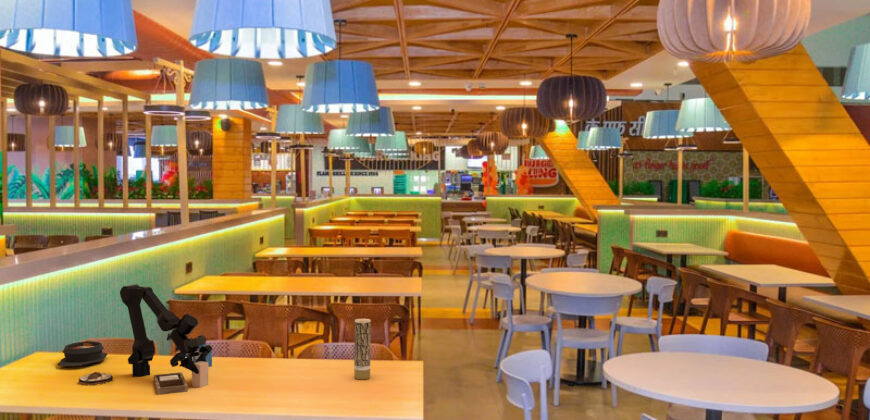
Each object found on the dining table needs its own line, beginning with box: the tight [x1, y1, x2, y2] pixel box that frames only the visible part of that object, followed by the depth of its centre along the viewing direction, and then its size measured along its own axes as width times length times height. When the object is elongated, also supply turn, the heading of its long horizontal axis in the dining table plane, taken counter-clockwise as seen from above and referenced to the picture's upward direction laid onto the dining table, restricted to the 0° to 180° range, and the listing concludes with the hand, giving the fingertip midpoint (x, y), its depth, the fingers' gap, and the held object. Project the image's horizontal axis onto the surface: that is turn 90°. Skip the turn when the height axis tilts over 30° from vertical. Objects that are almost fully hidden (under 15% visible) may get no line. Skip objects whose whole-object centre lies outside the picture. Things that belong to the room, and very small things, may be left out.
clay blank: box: [191, 361, 209, 389], centre depth 286 cm, size 4×4×10 cm
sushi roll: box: [78, 371, 113, 386], centre depth 293 cm, size 15×15×4 cm
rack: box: [153, 371, 189, 396], centre depth 285 cm, size 21×11×3 cm, turn 25°
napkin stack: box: [159, 375, 179, 381], centre depth 289 cm, size 7×7×2 cm
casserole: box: [57, 340, 108, 367], centre depth 322 cm, size 25×19×8 cm
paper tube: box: [353, 318, 372, 381], centre depth 303 cm, size 7×7×25 cm
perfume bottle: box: [192, 341, 213, 368], centre depth 317 cm, size 6×6×12 cm
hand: (202, 371), depth 285 cm, fingers closed on clay blank, 4 cm apart
